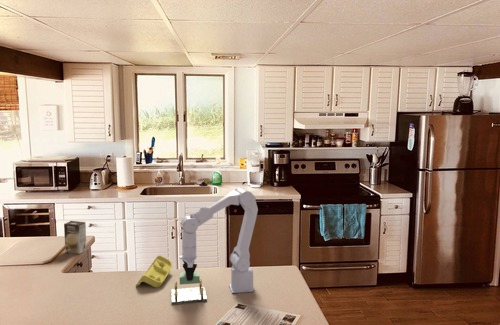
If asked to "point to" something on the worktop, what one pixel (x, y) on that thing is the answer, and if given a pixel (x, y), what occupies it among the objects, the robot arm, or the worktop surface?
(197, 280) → the green rectangular block
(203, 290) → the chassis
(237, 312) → the worktop surface
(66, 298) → the worktop surface
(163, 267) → the plastic component
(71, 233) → the coffee box
